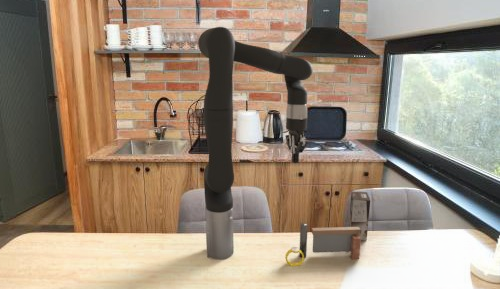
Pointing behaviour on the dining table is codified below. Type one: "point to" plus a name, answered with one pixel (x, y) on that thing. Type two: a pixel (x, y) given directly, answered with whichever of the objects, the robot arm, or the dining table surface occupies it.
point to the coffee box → (359, 212)
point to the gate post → (303, 239)
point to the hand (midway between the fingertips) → (295, 162)
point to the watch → (295, 250)
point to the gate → (333, 239)
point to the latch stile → (355, 247)
